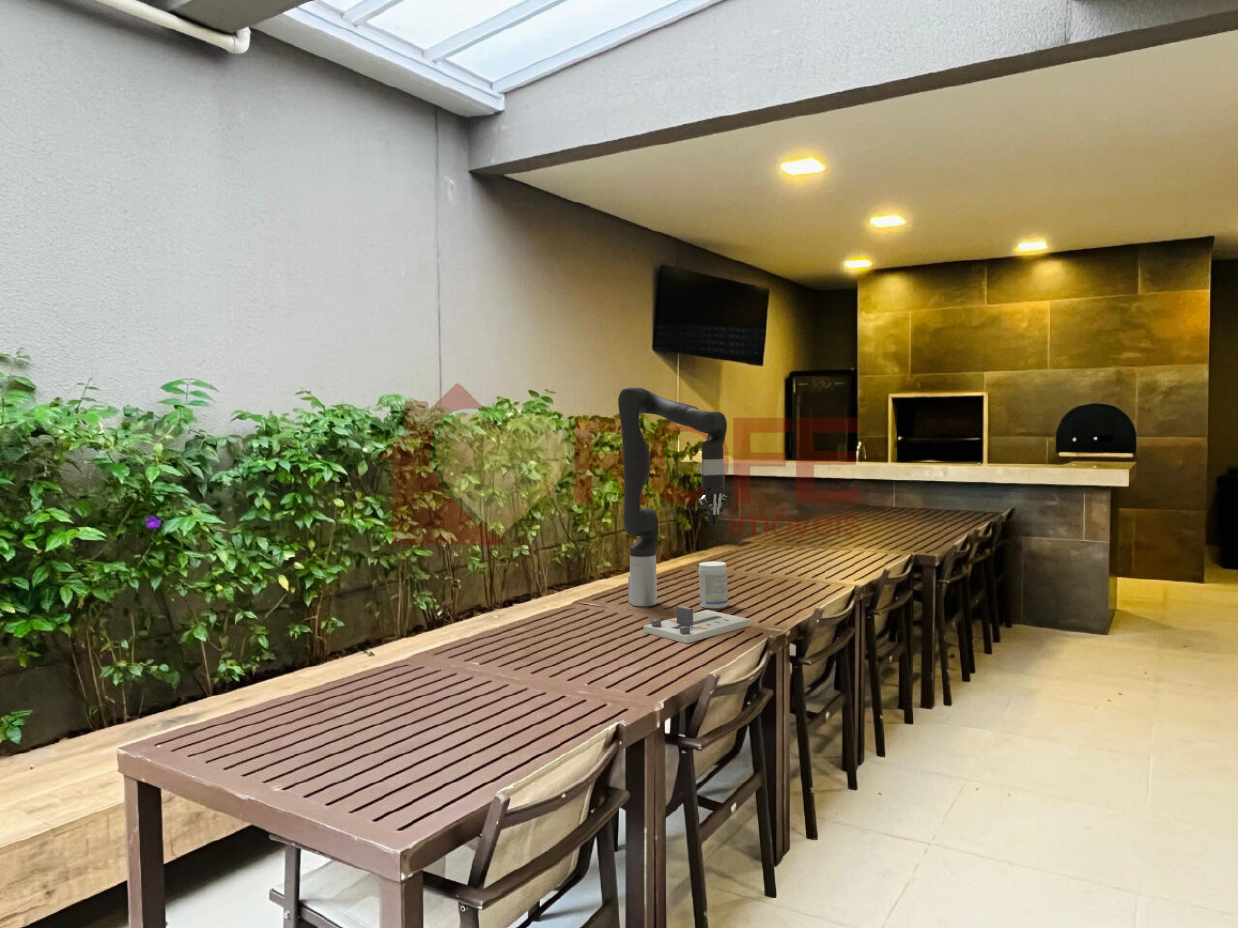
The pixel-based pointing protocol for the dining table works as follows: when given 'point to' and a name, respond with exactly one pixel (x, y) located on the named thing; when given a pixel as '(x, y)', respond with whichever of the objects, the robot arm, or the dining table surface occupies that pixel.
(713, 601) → the supplement tub
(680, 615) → the fader tab
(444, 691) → the dining table surface
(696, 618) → the console board
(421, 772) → the dining table surface
